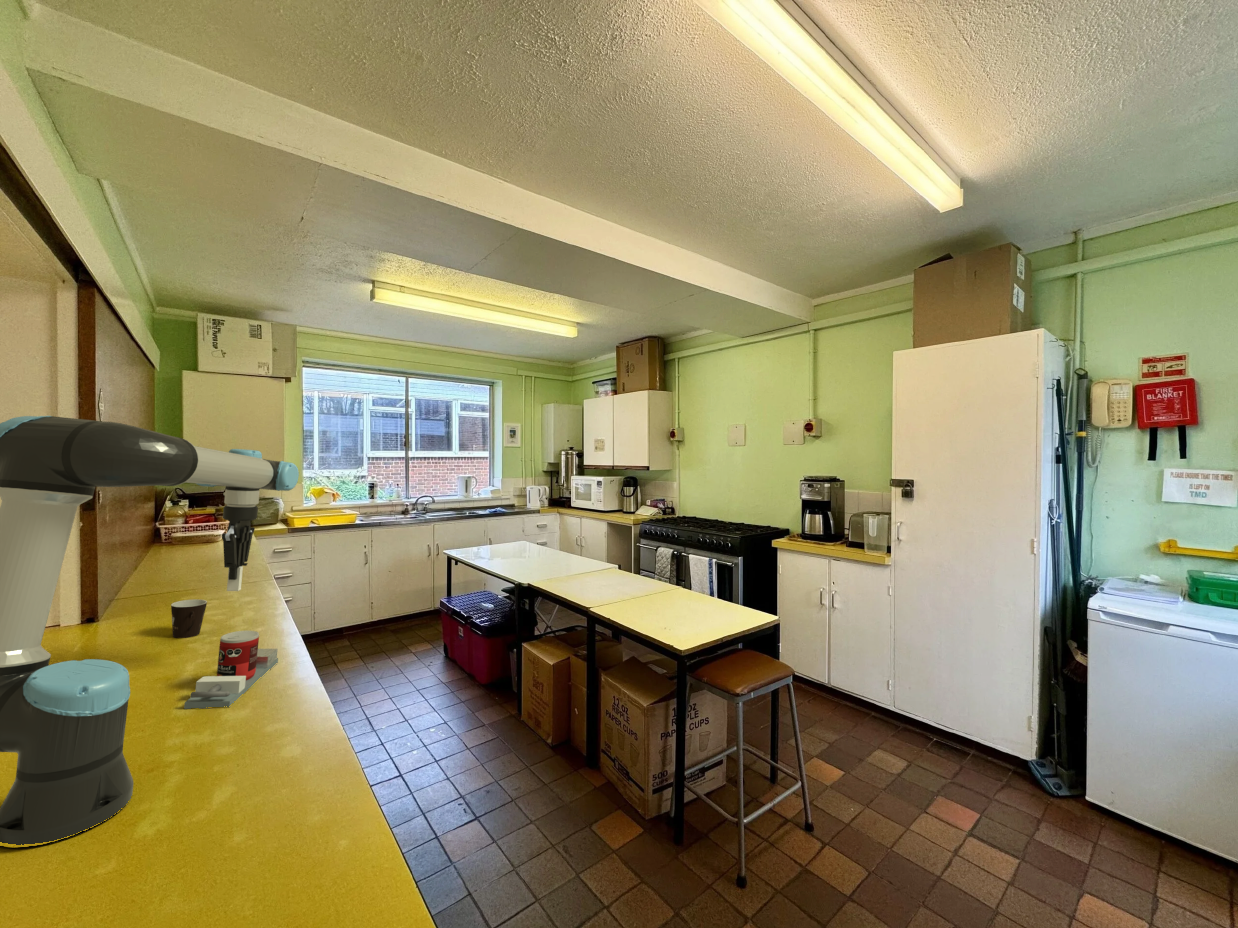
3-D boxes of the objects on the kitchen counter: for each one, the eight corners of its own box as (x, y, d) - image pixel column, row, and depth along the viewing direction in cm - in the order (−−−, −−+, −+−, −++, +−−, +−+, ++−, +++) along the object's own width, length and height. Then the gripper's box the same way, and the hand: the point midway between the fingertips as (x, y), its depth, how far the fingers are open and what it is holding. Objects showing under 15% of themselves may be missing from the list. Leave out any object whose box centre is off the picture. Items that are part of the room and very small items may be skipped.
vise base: (228, 707, 115) (230, 688, 115) (183, 708, 113) (185, 689, 113) (277, 663, 140) (279, 647, 140) (241, 663, 138) (243, 647, 138)
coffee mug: (174, 630, 157) (177, 599, 157) (208, 629, 160) (211, 598, 161) (158, 643, 146) (161, 610, 146) (195, 641, 150) (198, 609, 150)
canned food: (210, 678, 125) (214, 635, 125) (245, 668, 132) (249, 628, 132) (225, 687, 121) (229, 642, 121) (261, 676, 128) (265, 634, 128)
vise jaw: (267, 667, 133) (268, 656, 133) (228, 668, 131) (229, 656, 131) (276, 659, 139) (277, 648, 139) (240, 659, 137) (241, 648, 137)
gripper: (237, 502, 140) (230, 583, 140) (212, 506, 128) (204, 596, 128) (267, 503, 142) (260, 584, 142) (245, 508, 129) (237, 597, 129)
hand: (233, 590), depth 135 cm, fingers closed
